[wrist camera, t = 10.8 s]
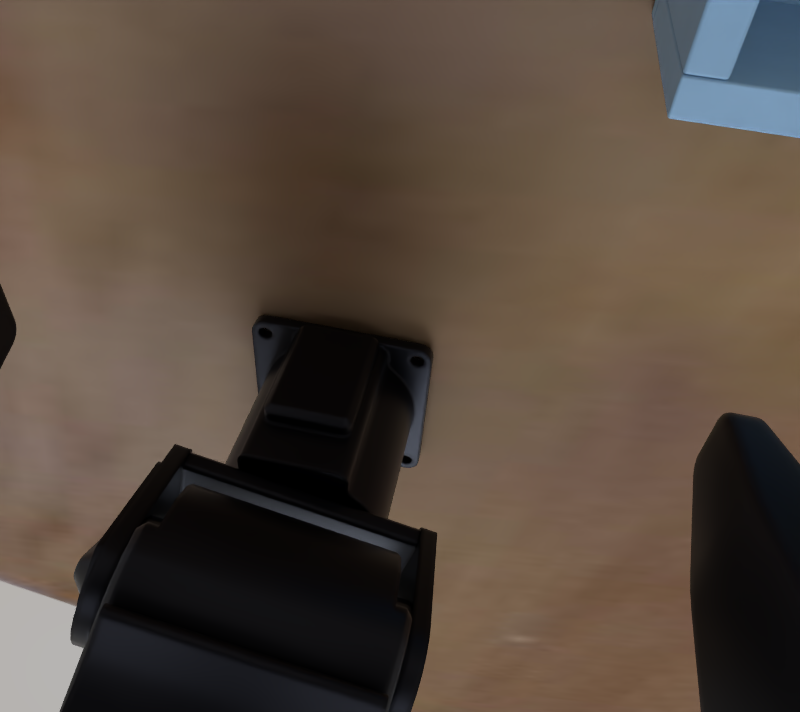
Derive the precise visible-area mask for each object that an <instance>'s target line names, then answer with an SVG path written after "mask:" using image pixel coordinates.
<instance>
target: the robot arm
mask: <svg viewBox="0 0 800 712" xmlns="http://www.w3.org/2000/svg"><path fill="white" fill-rule="evenodd" d="M264 328H267V329H269V330H270V331H267V330H266V329H264ZM252 335H253V345H254V355H255V365H256V375H257V385H258V396H257V398H256V400H255V402H254V404H253V406H252V409H251V411H250V413H249V415H248V417H247V419H246V421H245V423H244V425H243V428H242V430H241V432H240V434H239V436H238V438H237V440H236V442H235V444H234V446H233V449H232V451H231V453H230V455H229V457H228V459H227V461H226V463H225V464H224V463H221V462H218V461H215V460H212V459H209V458H206V457H203V456H200V455H197V454H194V453H192V450H191V449H188V448H185V447H182V446H179V445H176V444H175V445H174V446H173V448H172V449H171V450H170V452H169V453H168V454H167V456H166V457H165V459H164V460H163V461H162V462H158V463H157V464H156V465H155V466H154V468H153V469H152V470H151V472H150V473H149V475H148V476H147V477H146V479H145V480H144V481H143V483H142V484H141V485H140V487H139V488H138V489H137V491H136V492H135V494H134V495H133V496H132V498H131V499H130V500H129V502H128V503H127V504H126V506H125V507H124V508H123V510H122V511H121V512H120V514H119V515H118V517H117V518H116V519H115V521H114V522H113V523H112V525H111V526H110V527H109V529H108V530H107V531H106V533H105V534H104V536H103V537H102V538H101V539H100V540H99V541H98V542H97V543H96V544H95V545H94V546H93V547H92V548H91V549H90V550H89V551H88V552H87V553H85V554H84V555H83V556H82V558H81V559H80V561H79V562H78V564H77V566H76V569H75V572H74V579H75V582H76V585H77V587H78V590H79V593H80V594H79V598H78V602H77V607H76V611H75V614H74V618H73V622H72V628H71V642H72V644H73V645H76V646H79V647H82V648H84V649H83V652H82V654H81V657H80V660H79V662H78V665H77V668H76V670H75V673H74V675H73V678H72V681H71V683H70V686H69V688H68V691H67V694H66V696H65V699H64V701H63V704H62V707H61V709H60V712H411V710H412V707H413V704H414V701H415V698H416V695H417V691H418V688H419V684H420V681H421V677H422V673H423V669H424V664H425V660H426V655H427V650H428V644H429V637H430V628H431V614H432V600H433V585H434V571H435V556H436V542H437V533H436V532H433V531H430V530H427V529H424V528H420V529H416V528H413V527H410V526H407V525H404V524H401V523H398V522H395V521H392V520H389V519H388V515H389V511H390V507H391V503H392V499H393V495H394V492H395V488H396V484H397V480H398V476H399V472H400V468H401V467H406V468H411V467H414V466H416V465H417V463H418V460H419V456H420V450H421V442H422V435H423V428H424V421H425V413H426V406H427V399H428V391H429V384H430V377H431V369H432V362H433V352H432V351H431V349H430V348H429V347H427V346H426V345H423V344H420V343H414V342H409V341H403V340H398V339H393V338H387V337H382V336H376V335H371V334H366V333H360V332H355V331H349V330H344V329H339V328H333V327H328V326H322V325H317V324H312V323H306V322H301V321H295V320H290V319H285V318H279V317H274V316H269V315H263V316H260V317H259V318H258V319H257V320H256V322H255V324H254V325H253V328H252ZM15 336H16V322H15V319H14V317H13V314H12V312H11V309H10V307H9V304H8V302H7V299H6V297H5V294H4V292H3V289H2V287H1V284H0V368H1V366H2V364H3V362H4V360H5V358H6V357H7V355H8V353H9V351H10V349H11V347H12V345H13V342H14V340H15ZM414 356H418V357H421V358H422V359H417V358H415V357H414ZM690 595H691V611H692V622H693V632H694V643H695V654H696V664H697V675H698V686H699V696H700V707H701V712H800V464H799V463H798V462H797V460H796V459H795V458H794V457H793V455H792V454H791V453H790V452H789V451H788V449H787V448H786V447H785V446H784V444H783V443H782V442H781V441H780V439H779V438H778V437H777V436H776V435H775V433H774V432H773V431H772V430H771V428H770V427H769V426H768V425H767V424H766V423H765V422H764V421H763V420H762V419H760V418H757V417H752V416H747V415H741V414H736V413H725V414H723V415H722V416H721V417H720V418H719V419H718V421H717V422H716V424H715V426H714V428H713V430H712V431H711V433H710V435H709V437H708V438H707V440H706V442H705V444H704V446H703V447H702V449H701V451H700V453H699V455H698V457H697V460H696V463H695V467H694V475H693V505H692V537H691V570H690Z"/></svg>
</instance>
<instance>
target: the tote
mask: <svg viewBox="0 0 800 712" xmlns="http://www.w3.org/2000/svg"><path fill="white" fill-rule="evenodd" d="M652 18H653V27H654V33H655V39H656V46H657V52H658V58H659V65H660V71H661V77H662V84H663V90H664V96H665V103H666V109H667V115H668V118H670V119H676V120H683V121H690V122H696V123H703V124H710V125H716V126H723V127H730V128H736V129H743V130H750V131H756V132H763V133H770V134H776V135H783V136H790V137H796V138H800V0H655V4H654V7H653V11H652Z"/></svg>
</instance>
